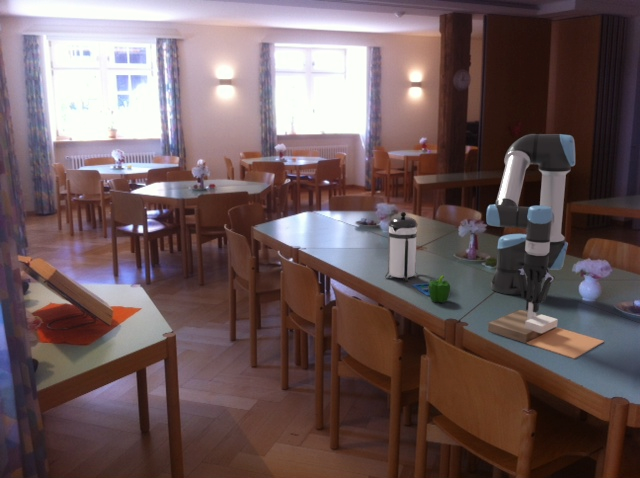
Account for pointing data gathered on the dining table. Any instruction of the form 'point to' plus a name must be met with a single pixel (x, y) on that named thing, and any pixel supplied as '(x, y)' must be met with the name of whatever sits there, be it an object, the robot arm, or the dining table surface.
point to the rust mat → (565, 342)
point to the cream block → (541, 323)
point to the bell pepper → (439, 290)
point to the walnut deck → (514, 327)
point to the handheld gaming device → (423, 288)
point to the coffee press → (402, 247)
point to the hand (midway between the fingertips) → (531, 320)
